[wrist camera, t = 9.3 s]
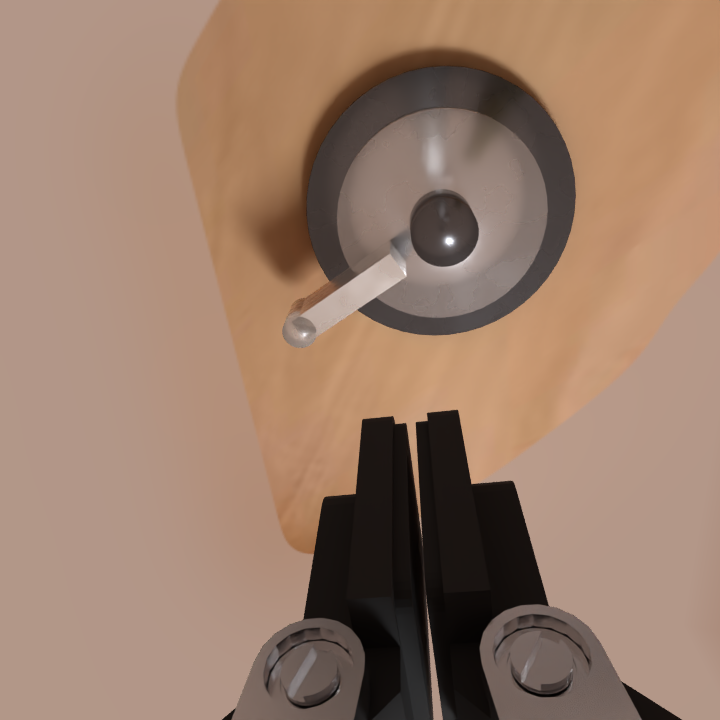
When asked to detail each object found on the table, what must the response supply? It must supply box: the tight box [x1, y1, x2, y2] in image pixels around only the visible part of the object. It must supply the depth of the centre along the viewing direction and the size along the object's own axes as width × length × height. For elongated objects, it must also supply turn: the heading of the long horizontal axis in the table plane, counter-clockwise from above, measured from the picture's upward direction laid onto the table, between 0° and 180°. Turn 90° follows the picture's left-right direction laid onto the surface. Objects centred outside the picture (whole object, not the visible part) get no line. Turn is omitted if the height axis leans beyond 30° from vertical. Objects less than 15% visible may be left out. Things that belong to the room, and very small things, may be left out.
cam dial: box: [282, 106, 548, 348], centre depth 35 cm, size 17×12×4 cm
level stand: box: [307, 66, 576, 335], centre depth 37 cm, size 16×16×1 cm
